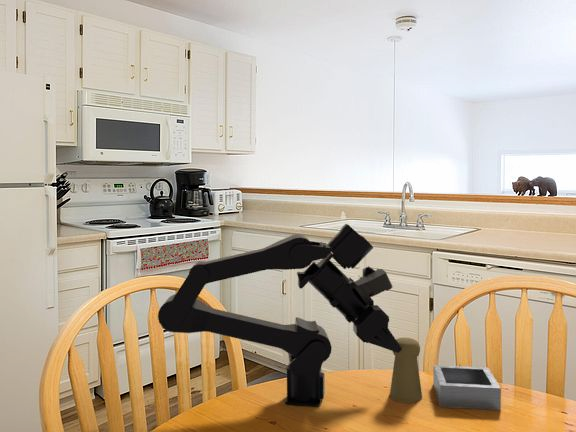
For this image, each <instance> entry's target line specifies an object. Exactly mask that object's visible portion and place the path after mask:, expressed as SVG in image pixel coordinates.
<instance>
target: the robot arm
mask: <svg viewBox="0 0 576 432" xmlns="http://www.w3.org/2000/svg"><path fill="white" fill-rule="evenodd" d="M373 249H374V246H373V245H372V244H371V243H370V242H369V241H368V240H367V239H366V238H365V236H363V235H361V234H359V233H358V232H357V231H356V230H355V229H354V228H353V227H352V226H350V225H349V224H348V223H345V224H344V225H343V226H342V227H341V228H340V230H339V231H338V232H337V233H336V234H335V236H334V237H333V238H331V240H330V241H329V242H324V241H323V242H322V241H311V240H310V239H309V238H308V237H307V236H305V235H303V234H299V233H298V234H292V235H290V236H287V237H284V238H283V239H280V240H278V241H276V242H273V243H272V244H269V245H267V246H266V247H262V248H259V249H256V250H251V251H246V252H242V253H241V252H240V253H238V254H234V255H233V254H232V255H229V256H224V257H220V258H215V259H211V260H207V261H203V260H202V261H198V262H196V263H195V264H193V266H192V267H191V268H190V269H189V271H188V275H187V277H185V279H184V281H183V282H182V284H181V285H180V287H179V289H178V290H177V292H176V293H174V294H171V296H168V298H167V299H166V300H165V302H164V303H163V304H162V305H161V307H160V308H159V310H158V313H157V319H158V323H159V324H160V326H161V328H162V329H163V330H165V331H166V332H169V333H177V334H178V333H181V334H192V333H203V332H205V333H207V332H208V333H211V334H217V335H221V336H225V337H229V338H234V339H238V340H242V341H246V342H250V343H251V342H252V343H256V344H260V345H265V346H269V347H272V348H277V349H281V350H282V351H284V352H285V353H287V355H288V361H289V362H288V364H287V367H286V398H285V400H284V404H285V405H293V406H294V405H295V406H309V407H311V406H313V407H320V406H321V403H322V400H323V399H324V398H325V392H326V391H325V390H326V389H325V388H326V387H325V381H326V380H325V377H326V375H325V372H322V366H323V363H324V362H326V361H327V360H328V359H329V358H330V356H331V353H332V347H333V346H332V344H331V343H332V342H331V341H330V339H329V336H328V333H327V331H326V330H325V328H323V327H322V326H320V325H318V323H317V321H316V320H305V319H304V318H301V317H295V323H291V324H281V323H278V322H273V321H268V320H265V319H260V318H256V317H253V316H252V317H251V316H247V315H242V314H238V313H234V312H229V311H225V310H220V309H218V308H217V309H216V308H213V307H211V306H210V305H208V304H206V303H205V302H203V301H202V300H199V299H198V297H199V296H200V294H201V292H202V291H203V289H204V287H205V286H206V285H207V284H209V283H215V282H219V281H222V280H228V279H232V278H236V277H237V278H238V277H241V276H245V275H249V274H250V275H251V274H253V273H259V272H262V271H266V270H267V271H268V270H281V271H284V270H285V271H286V270H301V269H302V270H303V269H305V268H306V269H305V270H304V271H297V272H296V275H297V286H298V288H299V289H303V288H304V287H305V286H306V285H307V284H308V283H309V285H311V286H312V287H313V288H314V289H315V290H316V291H317V292H318V293H319V294H320V295H322V296H323V297H324V298H325V300H327V301H328V303H329V305H330V306H331V307H332V308H333V309H336V310H337V311H338V312H339V313H340V314H341V315H342V316H343V317H344V318H345V320H346V322H348V323H349V324H351V323H352V328H353V329H352V331H353V332H354V334H355V335H356V337H358V338H359V340H361V341H362V343H366V344H371V345H375V346H377V347H380V348H383V349H386V350H389V351H391V352H393V351H394V352H396V353H399V352H400V351H401V350H402V348H401V346H400V345H399V343H398V342H397V341H396V339H397V338H396V337H395V336H394V335H393V334H392V331H391V330H390V328H389V323H390V316H389V315H388V314H387V313H386V312H385V311H384V310H383V309H382V308H381V307H380V306H379V305H377V304H376V305H375V303H374V301H375V300H374V299H373V298H372V297H375V296H377V295H379V294H381V293H383V292H385V291H390V290H391V289H393V287H394V286H393V284H392V282H391V280H390V278H389V276H388V274H387V271H385V270H384V269H383V268H377V269H376V270H374V268H372V267H370V266H369V265H368V266H367V267H364V268H363V269H362V273H361V274H362V275H361V276H360V277H359V279H357V280H353V279H352V278H351V277H348V276H347V275H346V274H345V273H344V272H343V271H342V270H341V269H339V267H337V265H335V263H333V262H332V261H331V259H334V261H335V262H336V263H337V264H338V265H340V267H342V268H343V269H344V270H346V269H348V270H349V269H350V268H351V269H352V270H353V269H354V268H355V267H356V266H358V265H359V264H360V262H362V260H364V258H366V256H367V255H368V254H369V253H370V252H371V251H372V250H373ZM319 260H320V261H319ZM316 261H319V262H317V263H316Z"/></svg>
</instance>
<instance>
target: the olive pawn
mask: <svg viewBox="0 0 576 432" xmlns="http://www.w3.org/2000/svg"><path fill="white" fill-rule="evenodd" d="M395 339H396V341H397V342H398V343H399V345H400V346H401V348H402V350H401V351H400V352H399V353H396V352H394V351H392V354H393V355H394V361H393V370H392V376H391V382H390V383H391V384H390V388H389V389H390V390H389V391H390V392H389V396H390V398H392V400H394V401H397V402H400V403H417V402H419V401H421V400H423V393H422V385H421V378H420V377H421V376H420V369H419V364H418V363H419V362H418V357H419V356H420V351H421V345H420V344H419V342H418V340H417V339H414V338H411V337H399V338H398V337H397V338H395Z"/></svg>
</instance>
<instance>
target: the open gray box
mask: <svg viewBox="0 0 576 432" xmlns="http://www.w3.org/2000/svg"><path fill="white" fill-rule="evenodd" d="M433 388H434V391H435V394H436V397H437V398H436V399H437V402H438V403H439V407H440V408H452V409H453V408H454V409H455V408H456V409H469V410H470V409H472V410H473V409H474V410H489V411H501V406H502V405H501V404H502V388H501V386H500V385H499V383H498V381H497V379H496V378H495V377H494V375H493V373H492V372H491V370H490V368H489V367H483V366H463V365H461V366H460V365H458V366H457V365H439V364H436V365H435V364H433Z"/></svg>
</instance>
